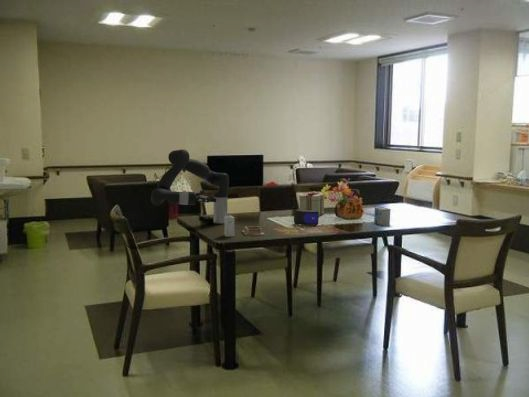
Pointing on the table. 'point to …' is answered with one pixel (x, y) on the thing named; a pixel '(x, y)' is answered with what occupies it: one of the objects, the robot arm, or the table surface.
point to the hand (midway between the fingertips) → (215, 199)
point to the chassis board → (253, 231)
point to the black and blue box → (306, 217)
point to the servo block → (229, 226)
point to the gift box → (312, 202)
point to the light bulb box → (382, 216)
